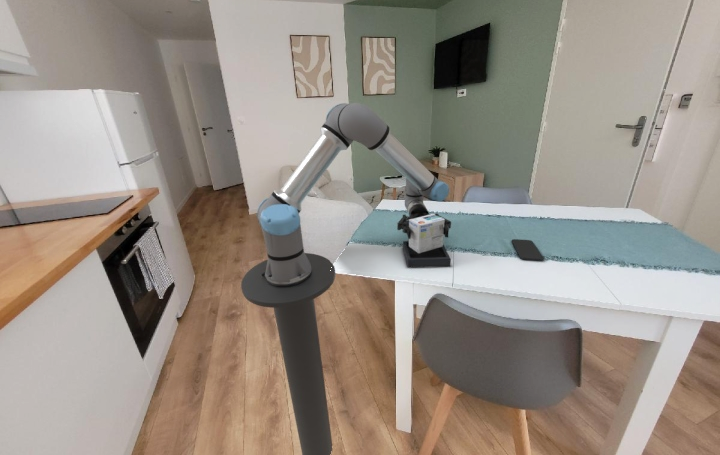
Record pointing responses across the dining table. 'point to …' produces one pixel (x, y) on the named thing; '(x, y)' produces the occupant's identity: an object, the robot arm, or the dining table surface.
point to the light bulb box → (426, 233)
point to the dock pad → (426, 257)
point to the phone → (527, 250)
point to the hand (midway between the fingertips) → (428, 234)
